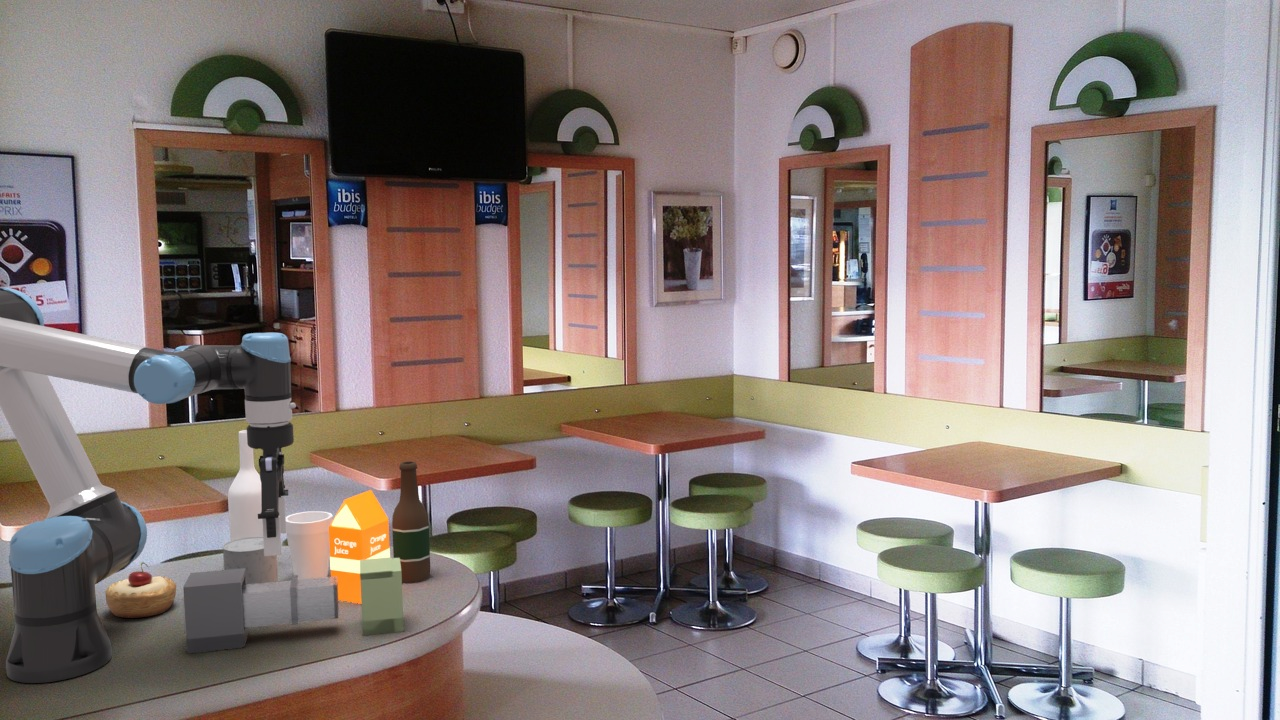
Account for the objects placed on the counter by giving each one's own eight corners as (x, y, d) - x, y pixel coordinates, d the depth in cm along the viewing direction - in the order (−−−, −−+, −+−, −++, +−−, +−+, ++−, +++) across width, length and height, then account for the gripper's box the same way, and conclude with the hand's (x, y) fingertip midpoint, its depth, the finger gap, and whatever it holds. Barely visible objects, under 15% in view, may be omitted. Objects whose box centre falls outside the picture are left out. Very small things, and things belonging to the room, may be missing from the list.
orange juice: (331, 599, 201) (326, 498, 199) (359, 585, 210) (355, 488, 207) (365, 604, 199) (360, 501, 196) (392, 590, 207) (388, 491, 204)
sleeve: (187, 653, 176) (183, 587, 174) (194, 636, 183) (190, 572, 182) (244, 647, 178) (240, 582, 177) (249, 631, 186) (245, 568, 184)
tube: (183, 635, 176) (181, 597, 175) (190, 621, 182) (187, 584, 182) (338, 620, 182) (336, 583, 181) (338, 606, 189) (337, 571, 188)
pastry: (98, 624, 190) (95, 577, 189) (116, 603, 201) (113, 558, 200) (169, 619, 192) (166, 572, 191) (183, 598, 204) (180, 553, 203)
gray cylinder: (262, 617, 192) (258, 552, 191) (215, 614, 194) (211, 549, 193) (289, 599, 202) (286, 537, 200) (244, 597, 204) (241, 535, 202)
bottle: (226, 579, 215) (217, 435, 211) (240, 566, 223) (232, 427, 219) (265, 578, 215) (257, 434, 211) (278, 566, 223) (271, 427, 219)
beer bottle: (401, 570, 219) (396, 458, 216) (436, 572, 218) (433, 458, 215) (387, 582, 211) (382, 466, 208) (424, 584, 210) (420, 467, 207)
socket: (362, 635, 183) (360, 573, 182) (362, 619, 191) (359, 559, 189) (403, 631, 185) (401, 569, 183) (401, 615, 192) (399, 556, 191)
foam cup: (326, 586, 209) (323, 523, 208) (280, 586, 209) (277, 523, 208) (340, 571, 219) (338, 510, 217) (296, 571, 219) (293, 511, 217)
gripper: (288, 434, 168) (294, 562, 171) (296, 410, 192) (301, 523, 194) (239, 437, 166) (245, 567, 169) (253, 412, 190) (258, 526, 192)
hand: (275, 543), depth 181 cm, fingers open, 13 cm apart
